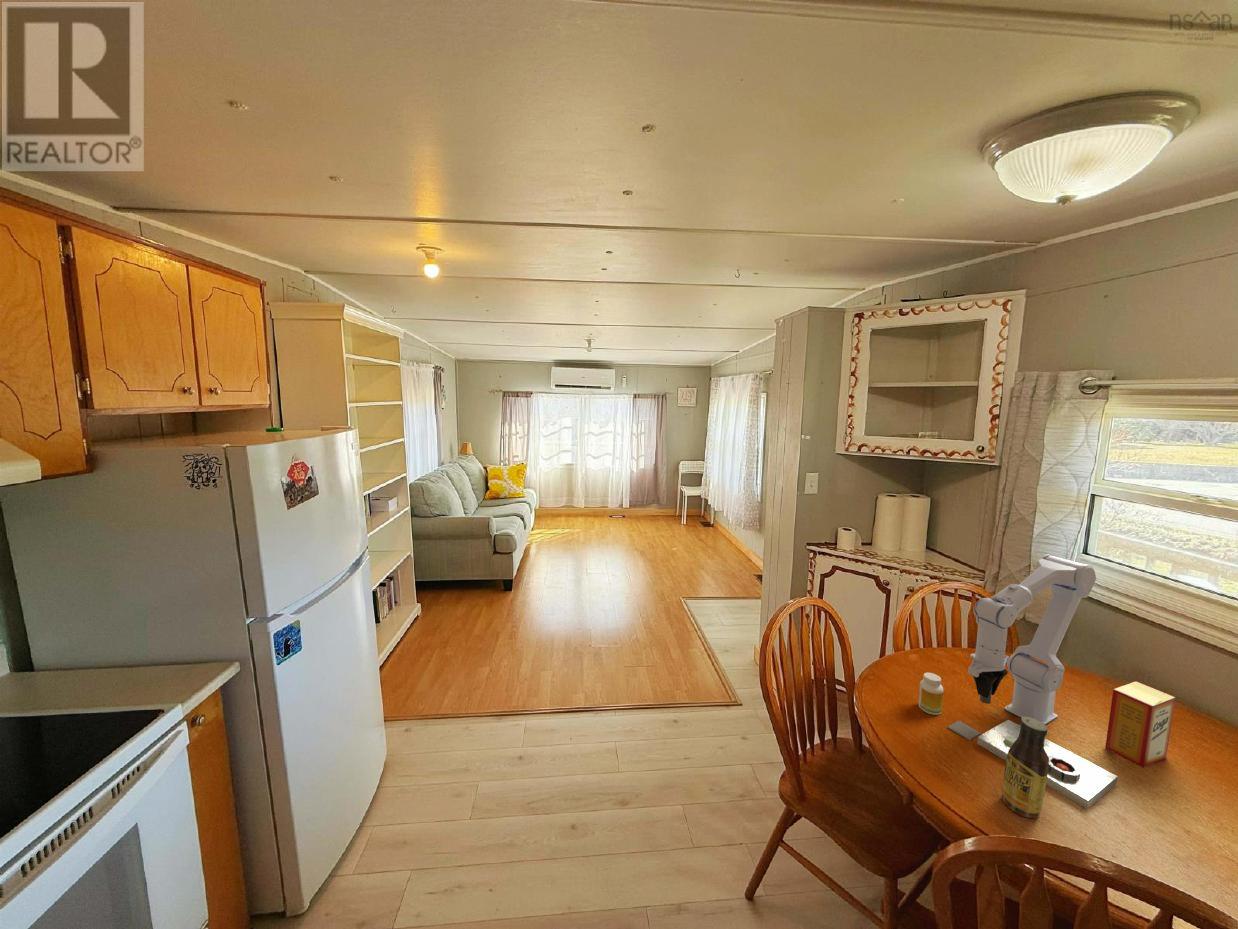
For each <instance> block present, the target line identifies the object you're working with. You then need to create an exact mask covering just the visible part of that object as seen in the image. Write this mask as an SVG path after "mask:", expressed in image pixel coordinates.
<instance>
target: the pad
mask: <svg viewBox="0 0 1238 929" xmlns="http://www.w3.org/2000/svg"><path fill="white" fill-rule="evenodd" d="M1016 740H1017V739H1016V738H1014V737H1013V736H1011V735H1010V736H1008V737H1006V738H1005V743H1006V744H1008V745H1009V746H1012V745H1013V743H1014V742H1015V741H1016Z"/></svg>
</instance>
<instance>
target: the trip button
mask: <svg viewBox="0 0 1238 929" xmlns="http://www.w3.org/2000/svg"><path fill="white" fill-rule="evenodd" d="M1056 767H1057V768H1059V769H1061V770H1063V771H1067V772H1068V771H1069V769H1068V767H1067V766H1065V765H1063V764H1060V763H1057V764H1056Z"/></svg>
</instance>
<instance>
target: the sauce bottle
mask: <svg viewBox="0 0 1238 929" xmlns="http://www.w3.org/2000/svg"><path fill="white" fill-rule="evenodd" d="M1019 726H1021V728H1020V734H1019V737H1018V738H1017V740H1016V741H1015V742H1014V743H1013V745H1012V746H1011V748H1010V749H1009V751H1008V755H1007V761H1005V762H1006V763H1005V769H1004V772H1003V779H1002V780H1003V781H1002V787H1001V798H1002V801H1003V802H1004V805H1006V807H1007V808H1009V809H1010V810H1011V811H1013V812H1015V813H1016V814H1018V815H1019V816H1021V817H1024V818H1029V819H1036V818H1038V817H1039V816H1040V814H1041V812H1042V808H1043V802H1044V797H1045V792H1046V786H1047V785H1046V781H1047V775H1048V766H1049V758H1048V756H1047V754H1046V752H1045V750H1044V740H1045V739H1046V736H1047V735H1048V726H1047V724H1044V723H1042V722H1040V721H1039V720H1037V719H1034V718H1031V717H1022V718H1021V717H1020V721H1019Z"/></svg>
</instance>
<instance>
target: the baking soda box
mask: <svg viewBox="0 0 1238 929" xmlns="http://www.w3.org/2000/svg"><path fill="white" fill-rule="evenodd" d="M1176 698H1177V697H1176V696H1173V695H1172V694H1169V693H1165V692H1164V691H1161V690H1159V689H1156V688H1154V687H1151V686H1149V685H1146V684H1144V683H1142V682H1140V681H1132V682H1130V683H1126V684H1125V685H1121V686H1119V687H1117V688H1116V687H1115V688H1113V690H1112V697H1111V705H1110V709H1109V710H1110V711H1109V720H1108V726H1107V734H1106V740H1105V749H1107V750H1108V751H1110V752H1111V753H1113V754H1116V755H1118V756H1119V757H1122V758H1123V759H1125V760H1126V761H1128V762H1130V763H1133V764H1134V765H1136V766H1138V767H1141V769H1144V768H1147V767H1149V766H1151V765H1153V764H1155V763H1158V762H1160V761H1162V760H1164V759H1167V756H1168V748H1169V742H1170V737H1171V728H1172V725H1173V724H1172V723H1173V717H1174V711H1175V710H1174V709H1175V705H1176V704H1175V703H1176Z"/></svg>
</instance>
